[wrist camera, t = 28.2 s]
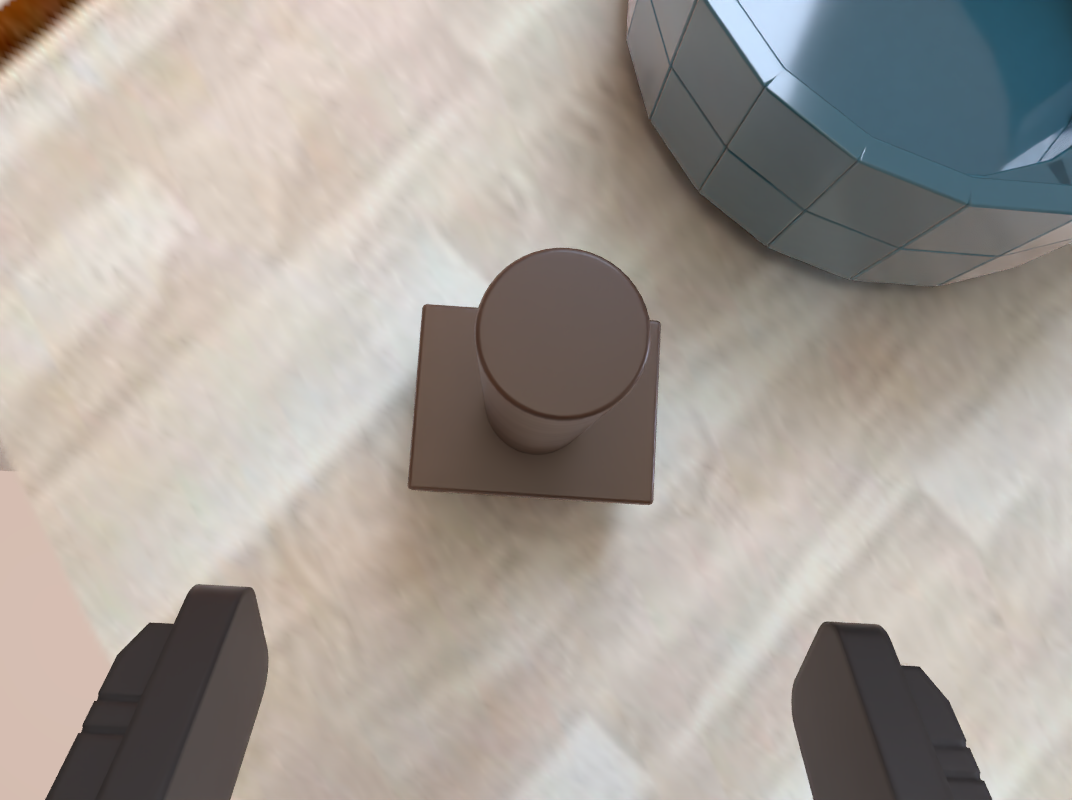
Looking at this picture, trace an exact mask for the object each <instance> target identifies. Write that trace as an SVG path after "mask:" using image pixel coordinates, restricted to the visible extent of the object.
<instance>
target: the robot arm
mask: <svg viewBox="0 0 1072 800" xmlns="http://www.w3.org/2000/svg"><path fill="white" fill-rule="evenodd" d="M267 672H268V649H267V644H266V640H265V636H264V631H263V627H262V622H261V618H260V613H259V609H258V604H257V600H256V595H255V592H254V590H253V589H252V588H251V587H237V586H219V585H201V584H198V585H195V586H194V587H192V589H191V590H190V591H189V593H188V594H187V596H186V598H185V600H184V603H183V605H182V607H181V609H180V611H179V614H178V616H177V618H176V620H175V623H174V624H165V623H149V624H148V625H147V626H146V627H145V628H144V629H143V630H142V631H141V632H140V633H139V634H138V635H137V636H136V637H135V638H134V639H133V640H132V641H131V642H130V643H129V644H128V645H127V646H126V647H125V648H124V649H123V650H122V651H121V652H120V653H119V654H118V655H117V657H116V659H115V661H114V663H113V665H112V667H111V669H110V671H109V673H108V675H107V677H106V679H105V681H104V683H103V685H102V687H101V689H100V691H99V693H98V695H99V696H98V700H97V701H94V703H93V705H92V707H91V709H90V711H89V713H88V715H87V717H86V719H85V721H84V723H83V729H82V732H81V733H78V735H77V737H76V739H75V741H74V743H73V745H72V747H71V749H70V751H69V754H68V755H67V757H66V759H65V761H64V763H63V765H62V767H61V769H60V771H59V773H58V775H57V777H56V780H55V781H54V783H53V785H52V787H51V789H50V791H49V793H48V795H47V797H46V799H45V800H230V799H231V795H232V792H233V789H234V786H235V783H236V780H237V776H238V773H239V770H240V767H241V764H242V761H243V757H244V754H245V751H246V748H247V745H248V742H249V738H250V735H251V732H252V729H253V726H254V722H255V719H256V716H257V713H258V710H259V707H260V703H261V700H262V697H263V694H264V690H265V685H266V680H267ZM792 716H793V722H794V727H795V730H796V734H797V738H798V742H799V746H800V749H801V753H802V757H803V761H804V765H805V769H806V772H807V776H808V780H809V784H810V788H811V791H812V795H813V799H814V800H992V798H991V796H990V793H989V791H988V789H987V787H986V784H985V782H984V781H981V779H980V771H979V768H978V766H977V764H976V762H975V759H974V757H973V755H972V752H971V750H970V748H967V747H966V739H965V737H964V734H963V732H962V730H961V727H960V725H959V723H958V721H957V718H956V716H955V714H954V712H953V709H952V707H951V705H950V702H949V701H948V700H947V698H946V697H945V696H944V695H943V694H942V692H941V691H940V690H939V689H938V688H937V687H936V685H935V684H934V683H933V682H932V681H931V680H930V678H929V677H928V676H927V675H926V674H925V673H924V671H923V670H922V669H921V668H920V667H917V666H901V665H900V662H899V660H898V657H897V655H896V652H895V650H894V647H893V645H892V642H891V640H890V638H889V636H888V634H887V632H886V631H885V630H884V629H883V627H881V626H880V625H877V624H861V623H843V622H824V623H823V624H822V625H821V626H820V627H819V629H818V631H817V634H816V636H815V638H814V640H813V642H812V644H811V646H810V648H809V651H808V653H807V655H806V657H805V659H804V661H803V663H802V665H801V668H800V670H799V672H798V674H797V676H796V678H795V681H794V684H793V689H792Z"/></svg>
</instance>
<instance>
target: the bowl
mask: <svg viewBox="0 0 1072 800" xmlns="http://www.w3.org/2000/svg"><path fill="white" fill-rule="evenodd" d="M626 38H627V45H628V48H629V52H630V55H631V59H632V62H633V66H634V69H635V73H636V76H637V80H638V83H639V87H640V90H641V94H642V97H643V101H644V104H645V108H646V112H647V115H648V118H649V120H651V123H652V124H653V126H654V127H655V129H656V130H657V132H658V133H659V135H660V136H661V138H662V139H663V141H664V142H665V144H666V145H667V147H668V148H669V150H670V151H671V153H672V154H673V156H674V157H675V159H676V160H677V162H678V163H679V165H680V166H681V168H682V169H683V171H684V172H685V174H686V175H687V177H688V178H689V180H690V181H691V183H692V184H693V186H694V187H695V188H696V190H699V193H700V194H701V195H703V196H704V197H705V198H706V199H708V200H709V201H710V202H711V203H712V204H714V205H715V206H716V207H717V208H719V209H720V210H721V211H722V212H724V213H725V214H726V215H727V216H729V217H730V218H731V219H732V220H734V221H735V222H736V223H737V224H739V225H740V226H741V227H742V228H744V229H745V230H746V231H747V232H749V233H750V234H751V235H752V236H753V237H755V238H756V239H757V240H758V241H760V242H761V243H762V244H763V245H765V246H767V245H768V248H769V249H772V250H774V251H777V252H779V253H782V254H784V255H787V256H789V257H792V258H794V259H797V260H799V261H802V262H804V263H807V264H809V265H812V266H815V267H817V268H820V269H822V270H825V271H827V272H830V273H832V274H835V275H837V276H840V277H842V278H845V279H850V280H853V281H865V282H878V283H892V284H905V285H918V286H931V287H935V286H943V285H947V284H951V283H955V282H959V281H963V280H967V279H971V278H975V277H979V276H983V275H987V274H991V273H996V272H1000V271H1004V270H1008V269H1012V268H1016V267H1018V266H1020V265H1023V264H1025V263H1027V262H1029V261H1032V260H1034V259H1036V258H1038V257H1041V256H1043V255H1045V254H1047V253H1049V252H1052V251H1054V250H1056V249H1058V248H1060V247H1063V246H1065V245H1067V244H1069V243H1072V0H628V14H627V33H626Z"/></svg>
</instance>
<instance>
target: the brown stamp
mask: <svg viewBox="0 0 1072 800" xmlns="http://www.w3.org/2000/svg"><path fill="white" fill-rule="evenodd" d="M660 333H661V324H660V322H659V321H654V320H649V315H648V312H647V308H646V305H645V303H644V301H643V299H642V296H641V295H640V293H639V291H638V290H637V288H636V286H635V285H634V284H633V283H632V281H631V280H630V279H629V277H628V276H626V275H625V274H624V273H623V272H622V271H621V270H620V269H619V268H618V267H616V266H615V265H614V264H612V263H611V262H609V261H607V260H606V259H604V258H602V257H600V256H598V255H595V254H593V253H590V252H587V251H583V250H579V249H572V248H552V249H545V250H541V251H537V252H533V253H531V254H528V255H526V256H523V257H522V258H520V259H518V260H516V261H514V262H513V263H511V264H510V265H509V266H507V267H506V268H505V269H504V270H503V271H502V272H501V273H500V274H498V275H497V276H496V278H495V279H494V280H493V281H492V283H491V284H490V285H489V287H488V289H487V290H486V292H485V294H484V296H483V298H482V300H481V303H480V305H479V308H473V307H459V306H445V305H431V304H426V305H424V306H423V308H422V320H421V332H420V344H419V356H418V368H417V380H416V392H415V404H414V416H413V428H412V440H411V453H410V465H409V477H408V487H409V489H411V490H418V491H432V492H448V493H464V494H480V495H496V496H511V497H527V498H543V499H559V500H575V501H591V502H606V503H622V504H639V505H650V504H652V502H653V495H654V472H655V449H656V426H657V403H658V379H659V356H660Z"/></svg>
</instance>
